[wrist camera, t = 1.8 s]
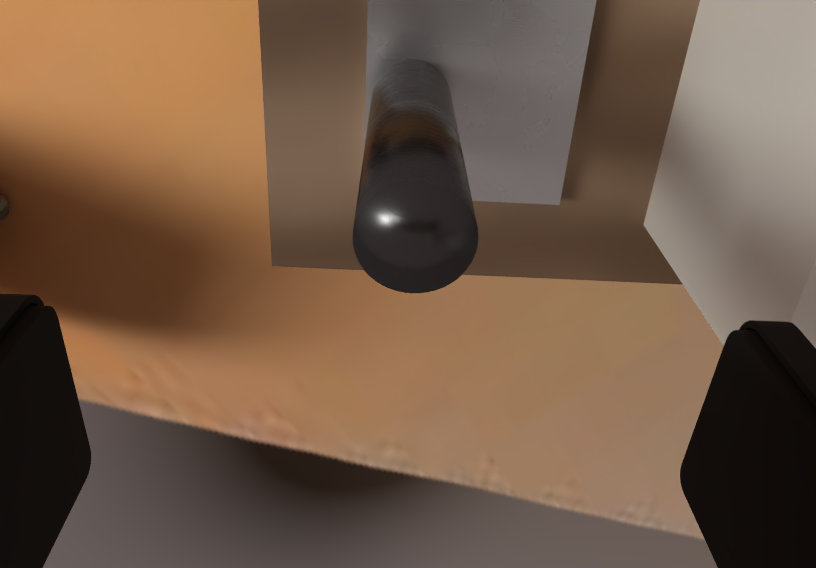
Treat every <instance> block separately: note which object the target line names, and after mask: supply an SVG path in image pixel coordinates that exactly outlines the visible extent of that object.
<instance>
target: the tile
mask: <svg viewBox="0 0 816 568" xmlns="http://www.w3.org/2000/svg"><path fill="white" fill-rule="evenodd" d="M644 226H645V228H646V229H647V231H648V233H649V234H650V236H651V237H652V239H653V240H654V242H655V243H656V245H657V246H658V248H659V249H660V251H661V252H662V254H663V255H664V257H665V258H666V260H667V261H668V263H669V264H670V266H671V267H672V269H673V270H674V272H675V273H676V275H677V276H678V278H679V279H680V281H681V282H682V284H683V285H684V287H685V288H686V290H687V291H688V293H689V294H690V296H691V297H692V299H693V300H694V302H695V303H696V305H697V306H698V308H699V309H700V311H701V312H702V314H703V315H704V317H705V318H706V320H707V322H708V323H709V325H710V326H711V328H712V329H713V331H714V332H715V334H716V335H717V337H718V338H719V340H720V341H721V343H722V344H723V346H724V345H725V342H726V339H727V337H728V335H729V334H730V333H731V332H732V331H734V330H739V329H740V327H741V326H742V325H743V324H744V323H745V322H747V321H749V320H756V321H784V322H791V323H793V324H794V325H796V326H797V327H798V328H799V329H800V331H801V332H802V333H803V334H804V335H805V336H806V338H807V339H808V340H809V341H810V342H811V343H812V345H813V346H814V347H815V348H816V0H700V2H699V6H698V10H697V14H696V18H695V22H694V26H693V30H692V34H691V38H690V42H689V46H688V50H687V54H686V58H685V62H684V66H683V70H682V74H681V78H680V82H679V86H678V90H677V94H676V98H675V102H674V106H673V110H672V114H671V117H670V121H669V125H668V129H667V133H666V137H665V141H664V145H663V149H662V153H661V157H660V161H659V165H658V169H657V173H656V177H655V181H654V185H653V189H652V193H651V197H650V201H649V205H648V209H647V213H646V217H645V221H644Z"/></svg>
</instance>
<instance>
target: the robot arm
mask: <svg viewBox="0 0 816 568" xmlns="http://www.w3.org/2000/svg"><path fill="white" fill-rule="evenodd" d="M90 464H91V450H90V445H89V441H88V437H87V433H86V429H85V425H84V421H83V417H82V413H81V409H80V405H79V401H78V397H77V393H76V389H75V385H74V381H73V377H72V373H71V369H70V365H69V361H68V357H67V353H66V348H65V344H64V340H63V336H62V332H61V328H60V324H59V320H58V316H57V314H56V311H55V310H54V308H53V307H50V306H44V304H43V302H42V300H41V299H40V298H39V297H38V296H36V295H21V294H0V568H42V567H43V565H44V563H45V561H46V559H47V557H48V555H49V553H50V551H51V549H52V547H53V545H54V543H55V541H56V539H57V537H58V535H59V533H60V531H61V529H62V527H63V525H64V523H65V521H66V519H67V517H68V515H69V513H70V511H71V509H72V507H73V505H74V503H75V501H76V498H77V496H78V495H79V493H80V490H81V488H82V486H83V484H84V482H85V480H86V478H87V476H88V473H89V469H90ZM680 480H681V486H682V489H683V492H684V495H685V497H686V499H687V501H688V503H689V506H690V508H691V510H692V512H693V514H694V516H695V519H696V521H697V523H698V525H699V527H700V530H701V532H702V534H703V536H704V538H705V541H706V543H707V545H708V547H709V549H710V551H711V554H712V556H713V558H714V560H715V562H716V564H717V567H718V568H816V348H815V347H814V346H813V345H812V343H811V342H810V341H809V340H808V339H807V338H806V336H805V335H804V334H803V333H802V332H801V331H800V329H799V328H798V327H797V326H796V325H794V324H793V323H791V322H784V321H756V320H749V321H747V322H745V323H744V324H743V325H742V326H741V327H740V329H739V330H734V331H732V332H731V333H730V334H729V335H728V337H727V339H726V342H725V345H724V347H723V350H722V353H721V356H720V359H719V361H718V364H717V367H716V370H715V373H714V375H713V378H712V381H711V384H710V387H709V389H708V392H707V395H706V398H705V401H704V403H703V406H702V409H701V412H700V415H699V417H698V420H697V423H696V426H695V429H694V431H693V434H692V437H691V440H690V443H689V445H688V448H687V451H686V454H685V457H684V459H683V462H682V465H681V471H680Z"/></svg>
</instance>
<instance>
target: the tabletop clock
mask: <svg viewBox="0 0 816 568" xmlns="http://www.w3.org/2000/svg"><path fill="white" fill-rule="evenodd" d="M8 212H9V203H8V201H7V199H6V198H5V197H4V196H3V195H1V194H0V220H1V219H3V218H5V217H6V216H7V215H8Z"/></svg>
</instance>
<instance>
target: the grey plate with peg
mask: <svg viewBox="0 0 816 568" xmlns="http://www.w3.org/2000/svg"><path fill="white" fill-rule="evenodd" d="M595 6H596V0H368V17H367V60H366V103H365V146H364V155H363V162H362V169H361V176H360V184H359V191H358V198H357V205H356V212H355V219H354V226H353V236H352V238H353V247H354V252H355V254H356V257H357V259H358V261H359V263H360V265H361V266H362V268H363V269H364V270H365V272H366V273H367V274H368V275H369V276H370V277H372V278H373V279H374V280H375V281H377V282H378V283H380V284H381V285H383V286H385V287H388V288H390V289H393V290H396V291H400V292H405V293H424V292H430V291H434V290H437V289H440V288H443V287H445V286H447V285H449V284H450V283H452V282H453V281H455V280H456V279H458V278H459V277H460V276H461V275H462V274H463V273H464V272H465V271H466V270H467V268H468V267H469V265H470V264H471V262H472V260H473V258H474V256H475V253H476V251H477V246H478V227H477V222H476V217H475V212H474V207H473V202H472V201H487V202H508V203H529V204H550V205H560V200H561V194H562V188H563V183H564V177H565V172H566V166H567V161H568V155H569V150H570V144H571V139H572V133H573V128H574V122H575V117H576V111H577V106H578V100H579V94H580V89H581V83H582V78H583V72H584V67H585V61H586V56H587V50H588V45H589V39H590V34H591V28H592V23H593V17H594V12H595Z"/></svg>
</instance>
